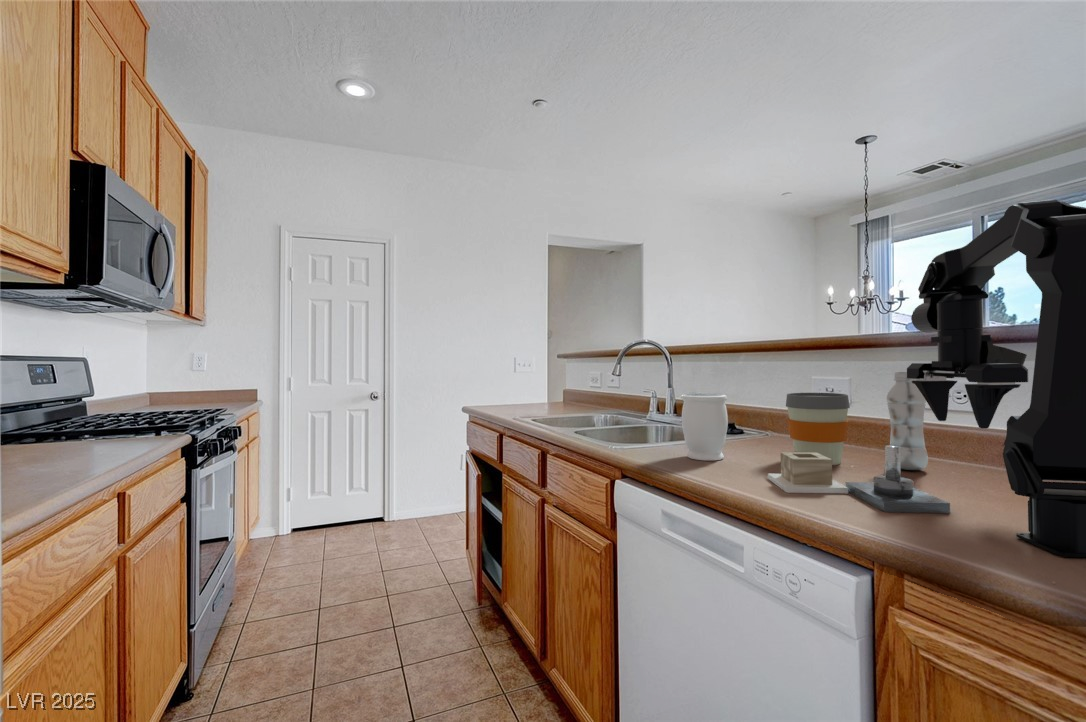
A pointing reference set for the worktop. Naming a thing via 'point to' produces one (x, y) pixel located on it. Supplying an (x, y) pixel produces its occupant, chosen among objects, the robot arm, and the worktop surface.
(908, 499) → the post stand
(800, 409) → the reusable coffee cup
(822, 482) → the collar
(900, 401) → the plastic bottle
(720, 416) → the jar
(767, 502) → the worktop surface
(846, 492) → the tile pad
